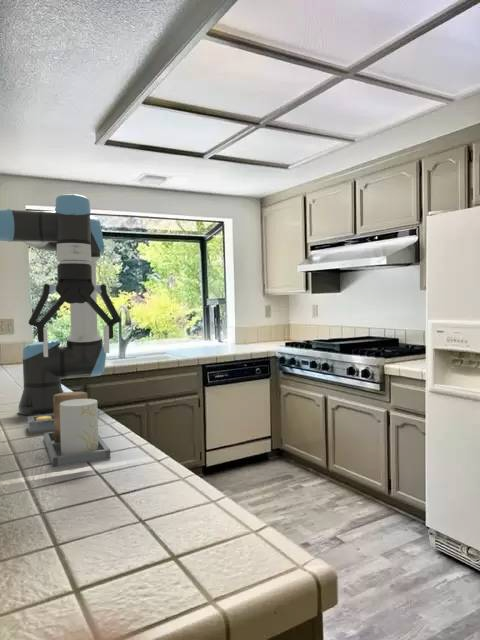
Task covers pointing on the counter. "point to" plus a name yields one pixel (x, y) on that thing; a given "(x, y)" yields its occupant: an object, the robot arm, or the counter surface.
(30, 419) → the grey square holder
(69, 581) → the counter surface
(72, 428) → the white stubby cylinder
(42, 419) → the button
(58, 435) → the ball
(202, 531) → the counter surface
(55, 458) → the grey divided tray
